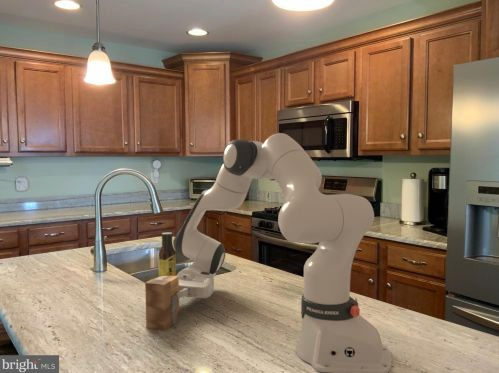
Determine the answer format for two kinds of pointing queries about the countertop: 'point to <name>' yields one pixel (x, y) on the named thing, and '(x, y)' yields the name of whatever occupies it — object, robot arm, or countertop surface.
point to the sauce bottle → (167, 256)
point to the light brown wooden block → (174, 286)
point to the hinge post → (160, 304)
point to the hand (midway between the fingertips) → (169, 295)
